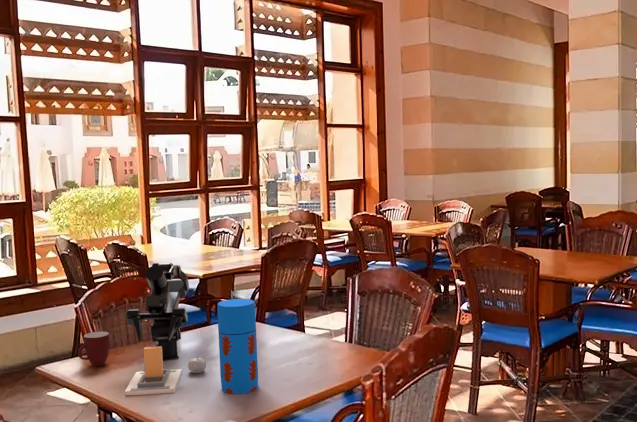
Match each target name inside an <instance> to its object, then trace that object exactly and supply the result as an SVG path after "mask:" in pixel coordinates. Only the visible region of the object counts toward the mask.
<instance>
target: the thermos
mask: <svg viewBox="0 0 637 422" xmlns="http://www.w3.org/2000/svg"><path fill="white" fill-rule="evenodd" d="M255 306H256V305H255V300H253V299H247V298H246V299H245V298H233V299H226V300H222V301H219V302H218V303H217V330H218V348H219V350H218V351H219V352H218V353H219V368H220V370H219V372H220V373H219V374H220V385H221V391H222V392H223V393H226V394H230V395H244V394H248V393H252V392H254V391H256V390H257V389H258V388H259V366H258V344H257V343H258V342H257V341H258V339H257V321H256V317H257V316H256V307H255Z"/></svg>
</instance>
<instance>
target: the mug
mask: <svg viewBox="0 0 637 422" xmlns="http://www.w3.org/2000/svg"><path fill="white" fill-rule="evenodd" d="M110 339H111V338H110V333H109V332H108V331H93V332H89V333H85V334H84V336H83V344H82V345H80V347H78V351H77V355H78V358H79V359H80V360H82V361H83V360H84V361H89V362H90V364H91V365H92V366H93V367H100V366H104V365H105V364H106V363H107V359H108V357H109V352H110V341H111V340H110ZM84 349H85V353H86V357H83V355H82V352H83V350H84Z"/></svg>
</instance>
